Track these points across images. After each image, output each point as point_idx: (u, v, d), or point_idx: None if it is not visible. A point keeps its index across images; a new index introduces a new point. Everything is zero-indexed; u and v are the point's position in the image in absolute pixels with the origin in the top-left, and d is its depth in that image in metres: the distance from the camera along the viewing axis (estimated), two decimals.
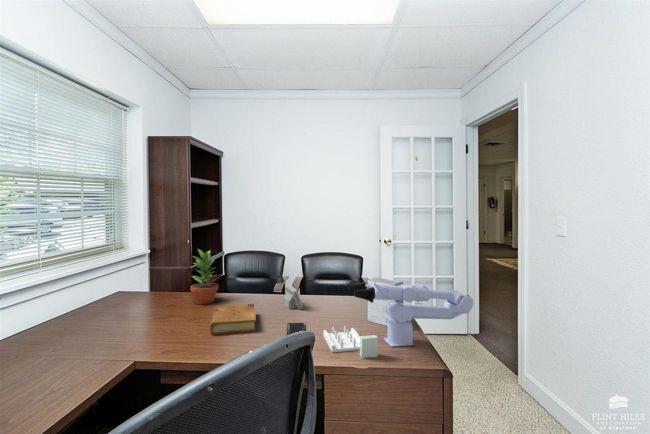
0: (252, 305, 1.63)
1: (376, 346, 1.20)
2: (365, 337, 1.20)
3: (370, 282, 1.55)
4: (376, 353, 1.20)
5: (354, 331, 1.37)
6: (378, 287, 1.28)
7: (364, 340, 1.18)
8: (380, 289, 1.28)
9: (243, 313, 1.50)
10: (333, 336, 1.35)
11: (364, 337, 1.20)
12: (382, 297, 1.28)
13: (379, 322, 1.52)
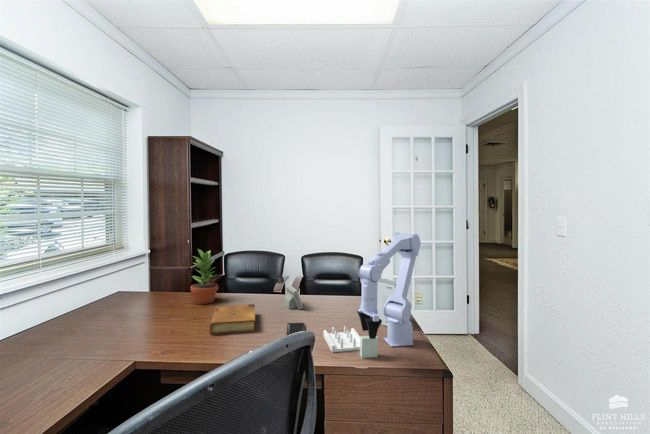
0: (252, 305, 1.62)
1: (376, 346, 1.20)
2: (365, 337, 1.20)
3: None
4: (376, 353, 1.20)
5: (354, 331, 1.37)
6: (364, 308, 1.18)
7: (364, 340, 1.18)
8: (367, 306, 1.17)
9: (243, 314, 1.50)
10: (333, 336, 1.35)
11: (364, 337, 1.20)
12: (375, 303, 1.18)
13: None
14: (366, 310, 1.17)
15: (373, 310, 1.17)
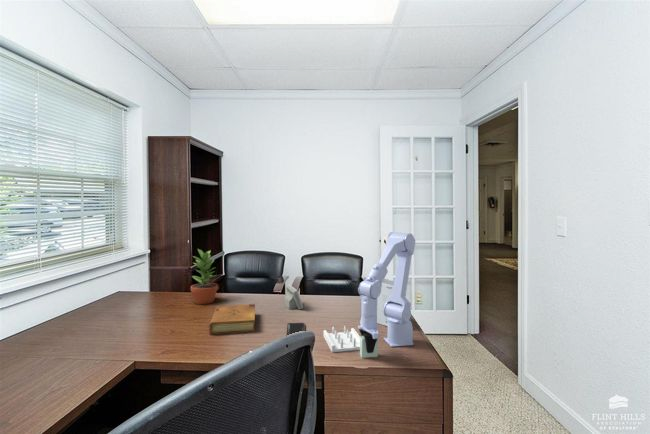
0: (253, 305, 1.62)
1: (376, 346, 1.20)
2: None
3: None
4: (376, 353, 1.20)
5: (354, 331, 1.37)
6: (364, 325, 1.18)
7: (364, 340, 1.18)
8: (366, 323, 1.17)
9: (243, 314, 1.50)
10: (333, 336, 1.35)
11: None
12: (375, 320, 1.18)
13: (379, 322, 1.52)
14: (366, 327, 1.17)
15: (373, 327, 1.17)
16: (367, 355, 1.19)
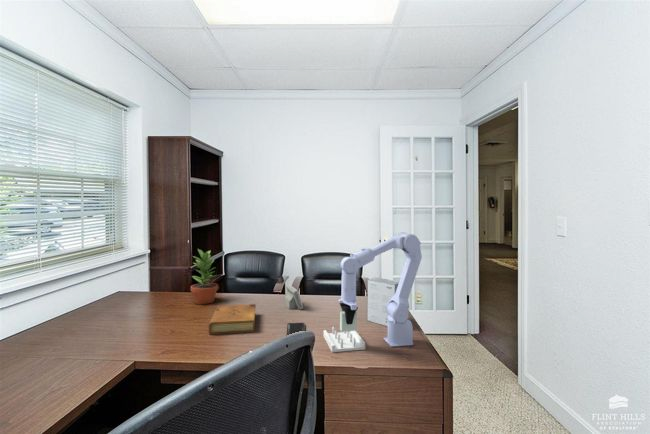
0: (253, 305, 1.62)
1: (355, 320, 1.28)
2: None
3: (370, 282, 1.55)
4: (355, 327, 1.28)
5: (354, 331, 1.37)
6: (344, 298, 1.27)
7: (343, 315, 1.27)
8: (346, 296, 1.26)
9: (243, 314, 1.50)
10: (333, 336, 1.35)
11: (344, 312, 1.28)
12: (354, 293, 1.27)
13: (379, 322, 1.52)
14: (345, 300, 1.26)
15: (352, 300, 1.26)
16: (346, 329, 1.28)
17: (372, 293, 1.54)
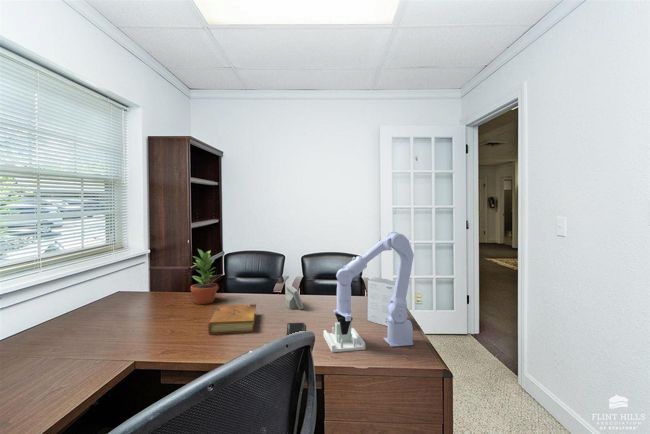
0: (254, 305, 1.62)
1: (350, 331, 1.31)
2: None
3: (370, 282, 1.55)
4: None
5: (354, 331, 1.37)
6: (339, 309, 1.29)
7: (338, 325, 1.30)
8: (341, 307, 1.29)
9: (243, 314, 1.50)
10: (333, 336, 1.35)
11: (339, 323, 1.31)
12: (348, 304, 1.29)
13: (379, 322, 1.52)
14: (340, 311, 1.29)
15: (347, 311, 1.29)
16: None
17: (372, 293, 1.54)
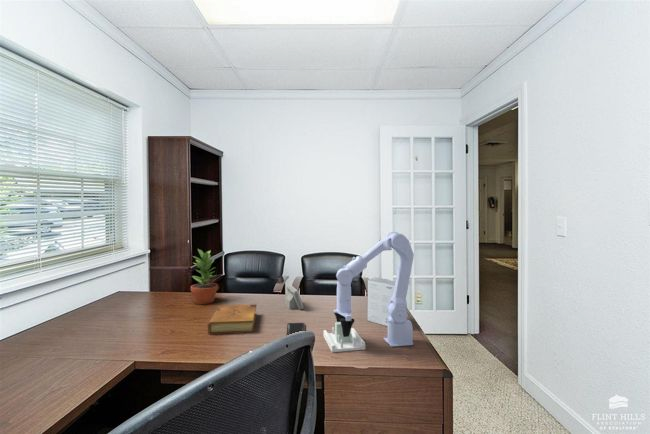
0: (254, 305, 1.62)
1: (350, 331, 1.31)
2: (340, 323, 1.31)
3: (370, 282, 1.55)
4: None
5: (354, 331, 1.37)
6: (339, 309, 1.29)
7: (338, 325, 1.30)
8: (341, 307, 1.29)
9: (243, 314, 1.49)
10: (333, 336, 1.35)
11: (339, 323, 1.31)
12: (348, 304, 1.29)
13: (379, 322, 1.52)
14: (340, 311, 1.29)
15: (347, 311, 1.29)
16: None
17: (372, 293, 1.54)
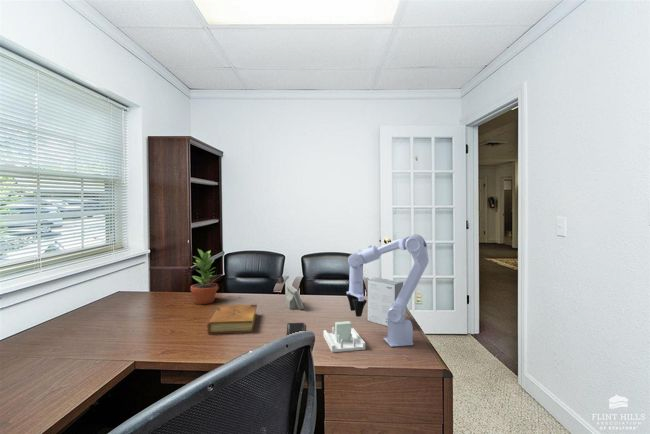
0: (254, 306, 1.62)
1: (350, 331, 1.31)
2: (340, 323, 1.31)
3: (370, 282, 1.55)
4: None
5: (354, 331, 1.37)
6: (352, 290, 1.36)
7: (338, 325, 1.30)
8: (354, 289, 1.36)
9: (243, 314, 1.49)
10: (333, 336, 1.35)
11: (339, 323, 1.31)
12: (361, 286, 1.36)
13: (379, 322, 1.52)
14: (353, 292, 1.36)
15: (359, 292, 1.36)
16: None
17: (372, 293, 1.54)
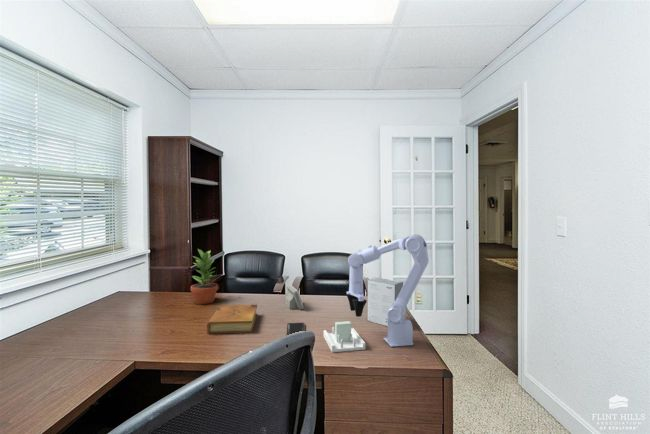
0: (255, 306, 1.62)
1: (350, 331, 1.31)
2: (340, 323, 1.31)
3: (370, 282, 1.55)
4: None
5: (354, 331, 1.37)
6: (352, 290, 1.36)
7: (338, 325, 1.30)
8: (354, 289, 1.36)
9: (243, 314, 1.49)
10: (333, 336, 1.35)
11: (339, 323, 1.31)
12: (361, 286, 1.36)
13: (379, 322, 1.52)
14: (353, 292, 1.36)
15: (359, 292, 1.36)
16: None
17: (372, 293, 1.54)
